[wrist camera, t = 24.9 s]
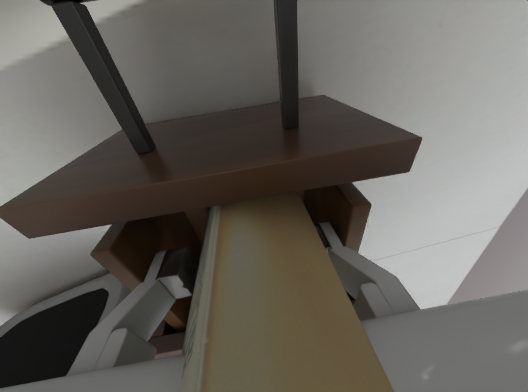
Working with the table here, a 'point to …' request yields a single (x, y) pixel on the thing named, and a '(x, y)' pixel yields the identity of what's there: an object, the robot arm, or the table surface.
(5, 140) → the table surface
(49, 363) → the alarm clock
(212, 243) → the cosmetic box
